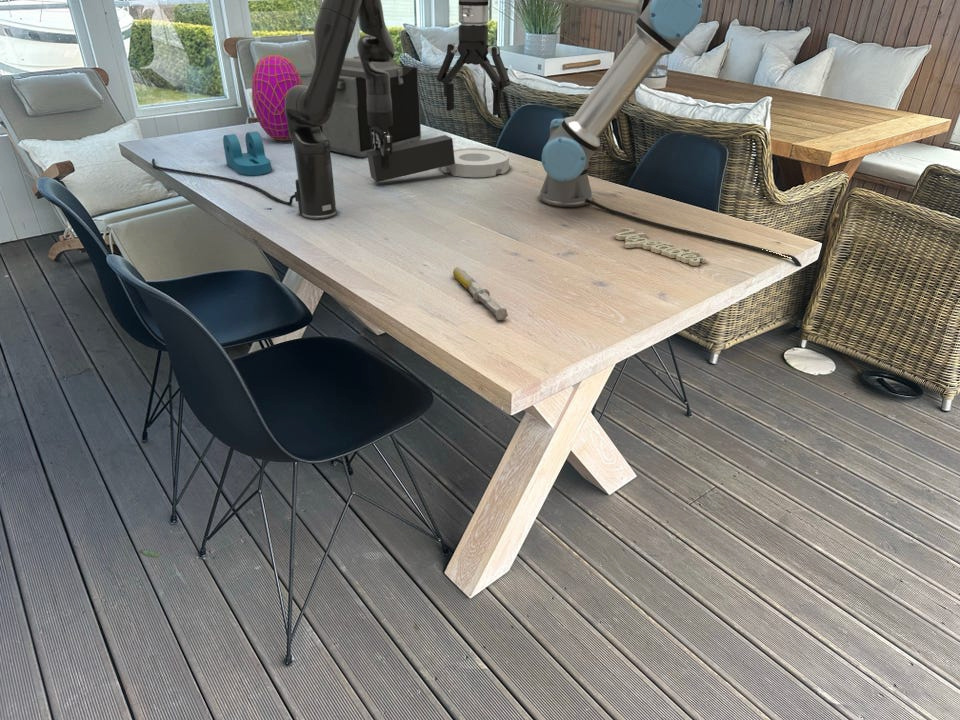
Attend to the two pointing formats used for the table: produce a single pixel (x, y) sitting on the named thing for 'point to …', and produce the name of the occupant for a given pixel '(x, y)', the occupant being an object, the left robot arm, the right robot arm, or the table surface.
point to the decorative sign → (659, 247)
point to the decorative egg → (273, 93)
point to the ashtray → (478, 162)
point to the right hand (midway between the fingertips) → (472, 112)
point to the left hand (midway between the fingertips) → (382, 165)
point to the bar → (412, 158)
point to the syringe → (479, 293)
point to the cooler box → (350, 108)
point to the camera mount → (246, 154)
